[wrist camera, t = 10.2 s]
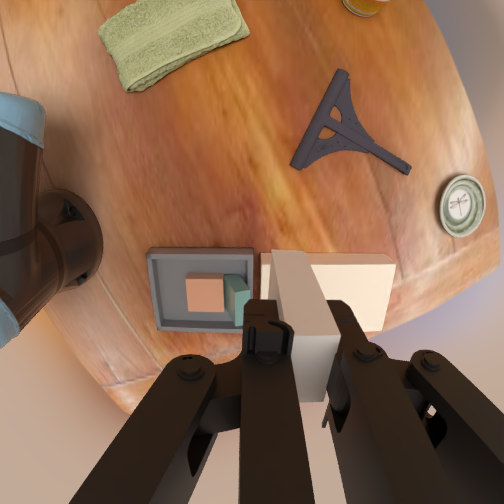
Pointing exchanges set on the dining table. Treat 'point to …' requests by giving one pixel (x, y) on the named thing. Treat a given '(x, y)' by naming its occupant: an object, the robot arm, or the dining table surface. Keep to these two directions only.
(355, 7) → the supplement bottle
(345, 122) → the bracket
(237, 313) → the green glazed tile
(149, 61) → the washcloth
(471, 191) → the saucer
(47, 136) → the dining table surface
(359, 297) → the cream board
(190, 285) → the terracotta tile
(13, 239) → the robot arm
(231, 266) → the tray
